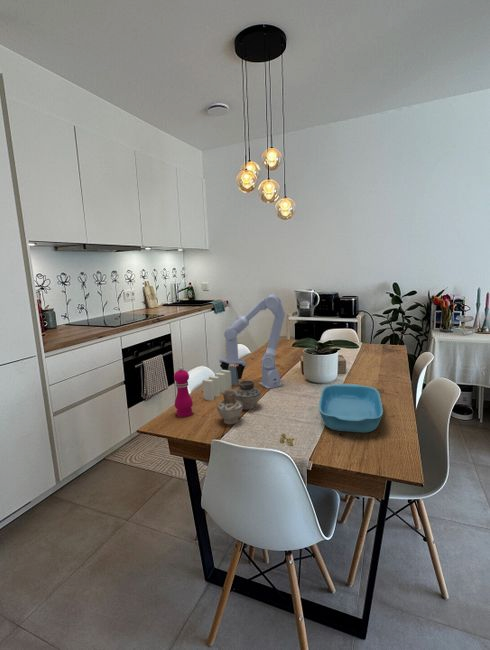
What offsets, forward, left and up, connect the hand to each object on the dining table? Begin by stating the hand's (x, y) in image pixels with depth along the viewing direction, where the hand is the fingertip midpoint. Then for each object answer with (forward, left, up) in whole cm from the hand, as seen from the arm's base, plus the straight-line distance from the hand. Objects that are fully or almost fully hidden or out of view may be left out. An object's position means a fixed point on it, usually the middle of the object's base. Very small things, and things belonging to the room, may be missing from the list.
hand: (233, 378), depth 174 cm
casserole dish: (-56, -25, -4) cm, 61 cm away
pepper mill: (-22, +31, -3) cm, 38 cm away
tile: (-6, +9, -3) cm, 12 cm away
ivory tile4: (-9, +13, -3) cm, 16 cm away
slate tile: (0, 0, -3) cm, 3 cm away
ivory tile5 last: (-12, +17, -3) cm, 21 cm away
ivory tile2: (-4, +5, -3) cm, 7 cm away
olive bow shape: (-60, +7, -4) cm, 61 cm away
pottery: (-32, +11, -4) cm, 35 cm away
